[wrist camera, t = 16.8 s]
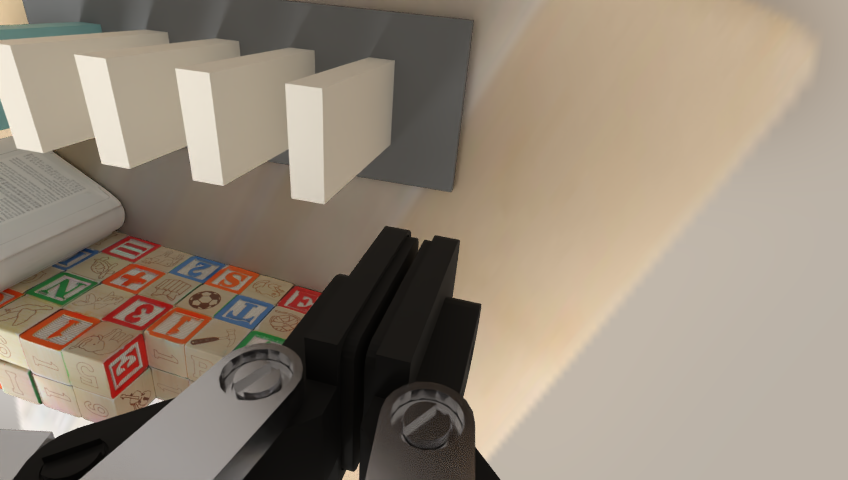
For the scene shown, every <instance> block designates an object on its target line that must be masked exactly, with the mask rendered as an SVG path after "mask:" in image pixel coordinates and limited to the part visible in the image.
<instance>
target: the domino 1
mask: <svg viewBox="0 0 848 480" xmlns="http://www.w3.org/2000/svg"><path fill="white" fill-rule="evenodd" d="M91 33H102V29H101V25H100V24H93V23H85V22H66V23H44V24H22V25H0V40H8V39H22V38H36V37H50V36H63V35H77V34H91ZM8 128H10V127H9V124H8V121H7V118H6V115H5V112H4V109H3V106H2V103H1V100H0V130H3V129H8Z"/></svg>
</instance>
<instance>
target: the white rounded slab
mask: <svg viewBox="0 0 848 480" xmlns="http://www.w3.org/2000/svg"><path fill="white" fill-rule="evenodd" d="M124 220H125V212H124V208H123V206H122V205H121V203H120V201H119V200H118V199H116V198H115V197H114V196H113V195H112V194H111V193H110V192H108V191H107V190H106V189H104V188H103V187H101V186H100V185H99V184H97V183H96V182H95V181H93V180H92V179H90V178H89V177H88V176H86V175H85V174H84V173H82V172H81V171H79V170H78V169H77V168H75V167H74V166H72V165H71V164H69V163H68V162H67V161H65V160H64V159H62V158H61V157H60V156H58V155H57V154H55V153H54V152H53V151H49V152H46V153H39V152H34V151H28V150H23V149H17V147H16V144H15V141H14V138H13V136H10V137H6V138H2V139H0V292H2V291H4V290H6V289H8V288H9V287H11V286H13V285H15V284H17V283H19V282H21V281H23V280H25V279H27V278H29V277H31V276H33V275H35V274H37V273H39V272H40V271H42V270H44V269H46V268H48V267H50V266H52V265H54V264H56V263H58V262H60V261H62V260H64V259H66V258H67V257H70V256H71V255H73V254H75V253H77V252H79V251H81V250H83V249H85V248H87V247H89V246H91V245H92V244H94V243H96V242H98V241H100V240H102V239H104V238H106V237H107V236H109V235H110V234H112V232H113V231H115V230H117V229H119V228H120V227H121V226H122V225H123V223H124Z"/></svg>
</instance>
